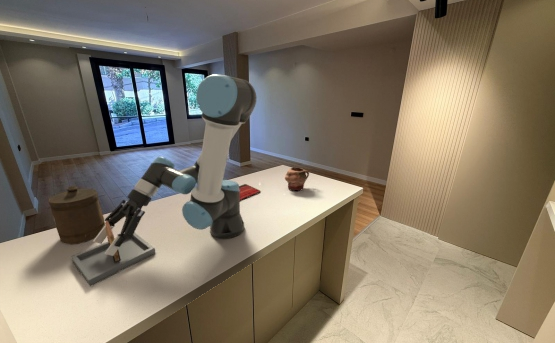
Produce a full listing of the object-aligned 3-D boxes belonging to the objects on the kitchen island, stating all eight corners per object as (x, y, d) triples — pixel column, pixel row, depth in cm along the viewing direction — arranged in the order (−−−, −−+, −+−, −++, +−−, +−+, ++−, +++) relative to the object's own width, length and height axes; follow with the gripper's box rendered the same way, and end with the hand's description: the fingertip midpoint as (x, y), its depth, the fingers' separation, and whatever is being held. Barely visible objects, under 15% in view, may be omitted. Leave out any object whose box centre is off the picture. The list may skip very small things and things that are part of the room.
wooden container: (82, 224, 101) (70, 179, 95) (114, 225, 101) (104, 180, 95) (50, 244, 87) (32, 192, 81) (86, 245, 87) (72, 194, 80)
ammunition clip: (109, 248, 84) (102, 220, 80) (115, 246, 85) (109, 218, 81) (114, 263, 76) (107, 233, 73) (120, 260, 78) (113, 231, 74)
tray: (155, 253, 84) (154, 247, 83) (90, 286, 68) (88, 280, 68) (134, 236, 94) (133, 231, 93) (72, 262, 78) (70, 256, 77)
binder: (220, 192, 137) (245, 183, 152) (220, 195, 137) (245, 186, 153) (237, 200, 127) (262, 190, 143) (237, 204, 128) (261, 193, 144)
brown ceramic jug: (300, 182, 162) (302, 164, 158) (313, 187, 153) (315, 168, 149) (280, 188, 150) (280, 169, 145) (292, 194, 141) (293, 173, 137)
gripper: (166, 205, 81) (126, 264, 74) (137, 190, 94) (101, 239, 86) (149, 196, 75) (104, 259, 68) (121, 181, 88) (80, 233, 80)
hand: (102, 248), depth 77 cm, fingers closed on ammunition clip, 10 cm apart
